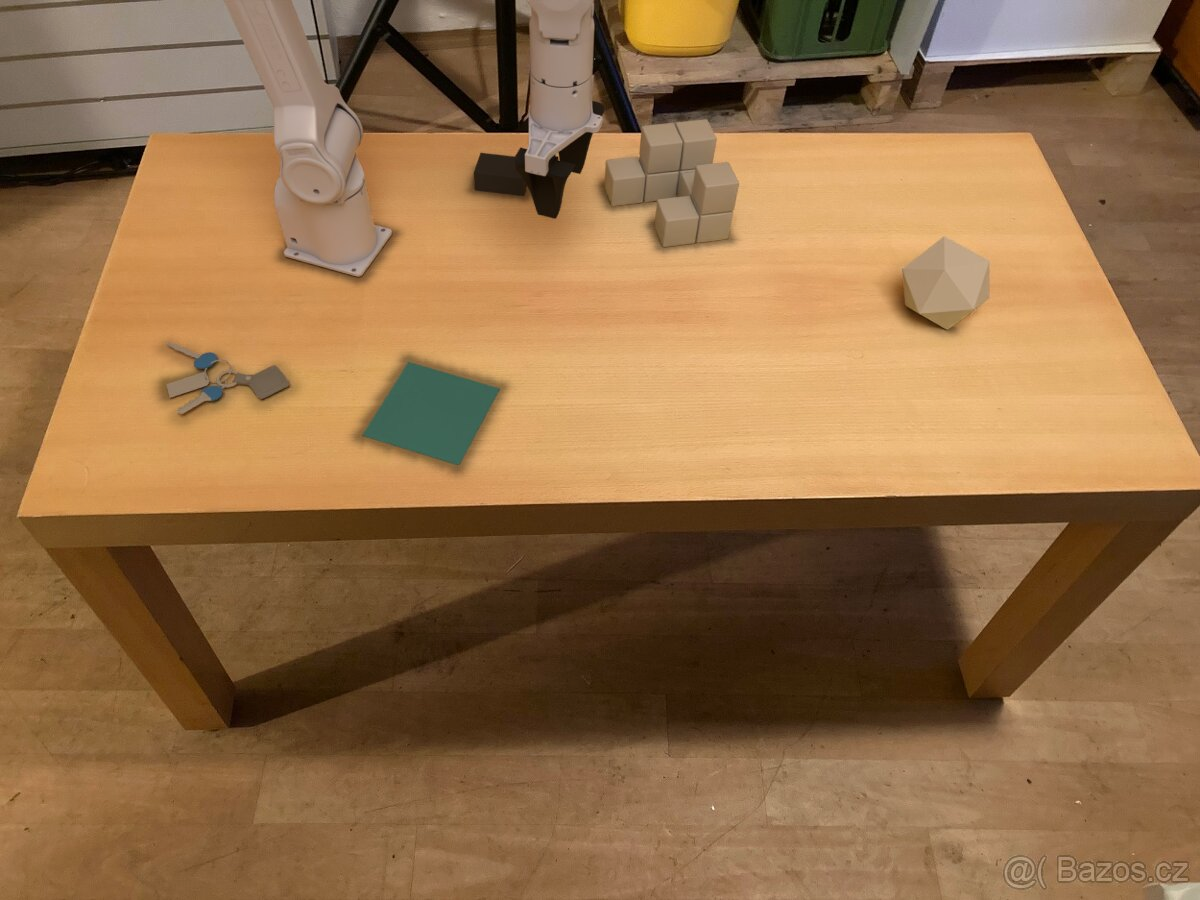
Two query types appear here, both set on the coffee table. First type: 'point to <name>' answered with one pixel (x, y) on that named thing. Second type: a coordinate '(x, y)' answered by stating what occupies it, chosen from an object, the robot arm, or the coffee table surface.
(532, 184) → the robot arm
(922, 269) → the die
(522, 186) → the eraser
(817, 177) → the coffee table surface
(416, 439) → the mat
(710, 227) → the grey cube cluster
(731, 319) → the coffee table surface
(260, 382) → the key chain
